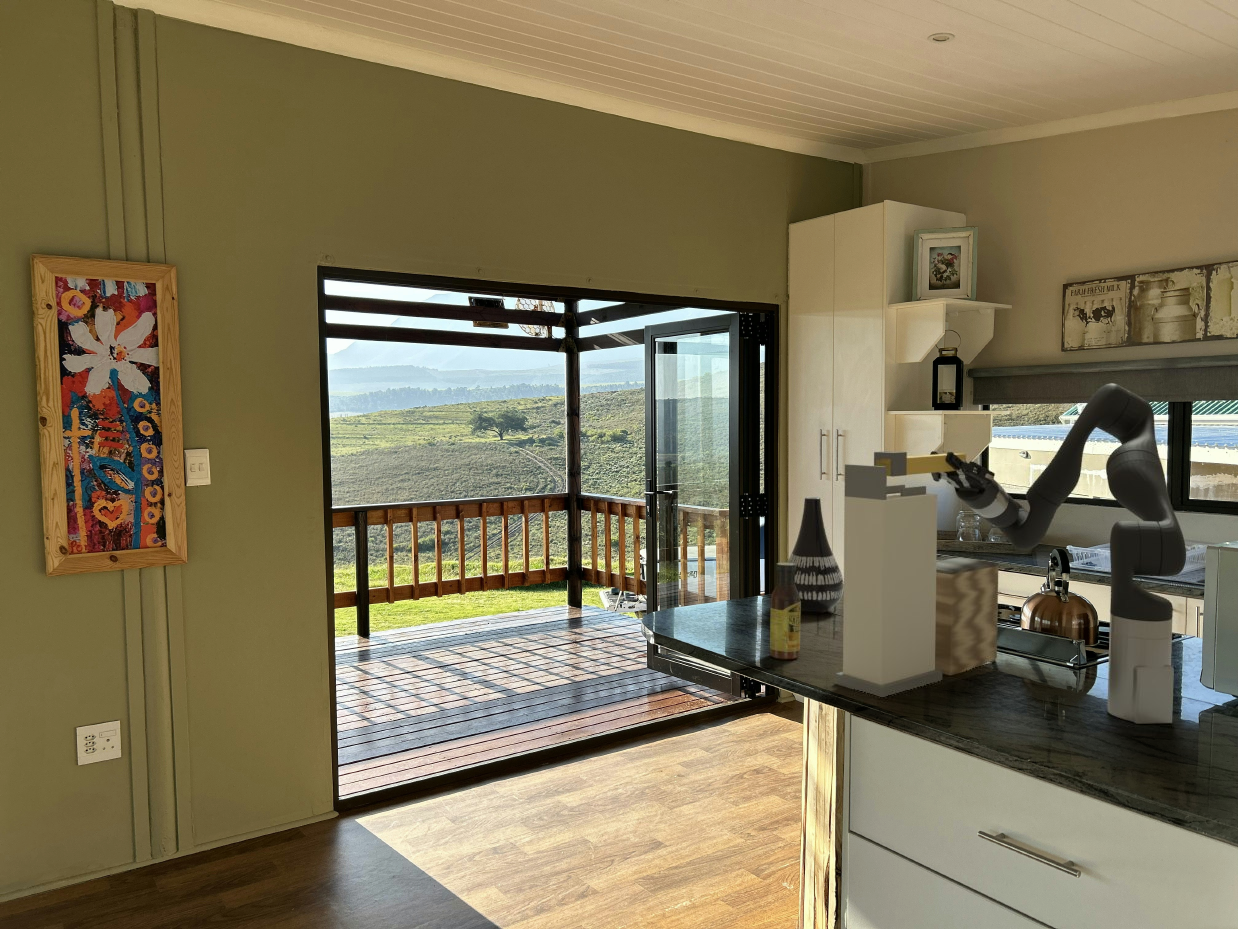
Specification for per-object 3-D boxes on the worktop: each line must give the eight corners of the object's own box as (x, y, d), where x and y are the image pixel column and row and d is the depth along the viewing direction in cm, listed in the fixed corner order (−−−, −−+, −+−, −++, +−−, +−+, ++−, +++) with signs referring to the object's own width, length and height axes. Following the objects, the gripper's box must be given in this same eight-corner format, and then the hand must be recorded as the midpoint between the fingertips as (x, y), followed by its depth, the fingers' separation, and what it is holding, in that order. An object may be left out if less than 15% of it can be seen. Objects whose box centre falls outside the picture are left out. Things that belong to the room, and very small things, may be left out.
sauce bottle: (793, 662, 191) (793, 567, 190) (765, 658, 195) (765, 564, 193) (804, 655, 197) (805, 562, 196) (777, 651, 200) (777, 560, 199)
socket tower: (882, 698, 168) (885, 467, 165) (835, 683, 176) (837, 464, 174) (942, 680, 178) (945, 463, 175) (895, 667, 187) (897, 460, 184)
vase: (779, 604, 247) (779, 494, 245) (840, 605, 245) (841, 494, 243) (781, 617, 231) (782, 500, 230) (846, 619, 229) (847, 501, 227)
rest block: (950, 675, 181) (951, 571, 180) (911, 665, 188) (912, 565, 187) (996, 661, 191) (998, 562, 189) (958, 652, 198) (959, 557, 197)
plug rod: (893, 476, 172) (893, 452, 171) (873, 475, 175) (874, 452, 175) (968, 469, 186) (968, 448, 185) (949, 468, 189) (949, 447, 189)
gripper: (957, 475, 199) (915, 438, 190) (1019, 479, 188) (977, 439, 179) (947, 507, 198) (903, 470, 188) (1008, 512, 186) (965, 474, 177)
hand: (939, 455), depth 183 cm, fingers closed on plug rod, 3 cm apart
